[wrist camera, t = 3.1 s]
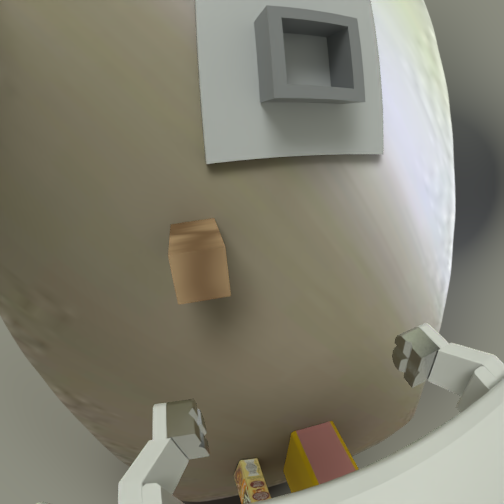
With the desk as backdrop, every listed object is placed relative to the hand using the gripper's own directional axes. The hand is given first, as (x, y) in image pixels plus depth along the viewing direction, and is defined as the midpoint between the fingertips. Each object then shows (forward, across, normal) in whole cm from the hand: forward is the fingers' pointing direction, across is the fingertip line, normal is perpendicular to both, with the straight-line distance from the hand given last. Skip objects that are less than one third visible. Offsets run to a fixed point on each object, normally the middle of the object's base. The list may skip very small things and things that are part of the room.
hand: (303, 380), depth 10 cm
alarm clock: (+22, -6, +56) cm, 60 cm away
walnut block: (+22, +4, +2) cm, 23 cm away
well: (+23, -10, -14) cm, 29 cm away
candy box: (+22, +8, +55) cm, 60 cm away
